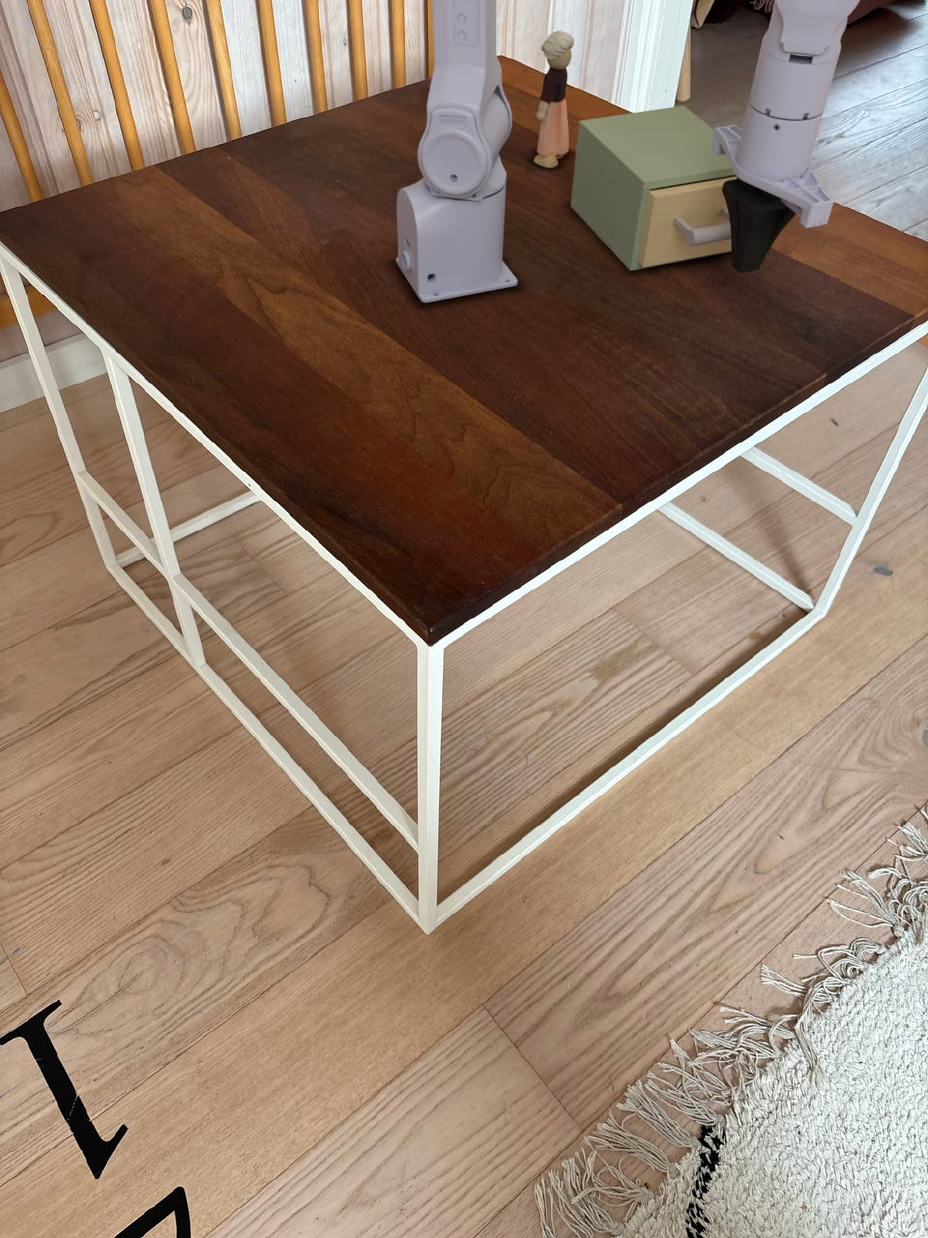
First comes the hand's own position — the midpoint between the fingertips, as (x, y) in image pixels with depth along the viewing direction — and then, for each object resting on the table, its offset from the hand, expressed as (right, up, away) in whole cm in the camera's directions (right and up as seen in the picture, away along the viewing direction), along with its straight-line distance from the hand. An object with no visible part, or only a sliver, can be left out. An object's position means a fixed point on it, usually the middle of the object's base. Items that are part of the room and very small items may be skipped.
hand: (745, 267), depth 87 cm
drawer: (-5, +7, +10) cm, 13 cm away
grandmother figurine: (-15, +20, +23) cm, 35 cm away
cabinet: (-6, +9, +13) cm, 17 cm away
